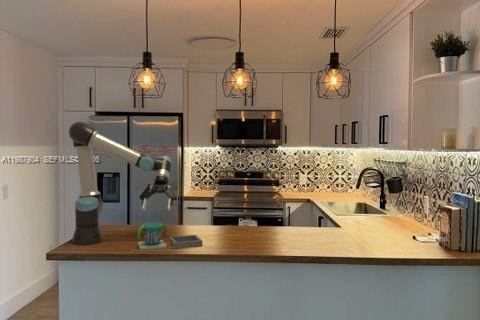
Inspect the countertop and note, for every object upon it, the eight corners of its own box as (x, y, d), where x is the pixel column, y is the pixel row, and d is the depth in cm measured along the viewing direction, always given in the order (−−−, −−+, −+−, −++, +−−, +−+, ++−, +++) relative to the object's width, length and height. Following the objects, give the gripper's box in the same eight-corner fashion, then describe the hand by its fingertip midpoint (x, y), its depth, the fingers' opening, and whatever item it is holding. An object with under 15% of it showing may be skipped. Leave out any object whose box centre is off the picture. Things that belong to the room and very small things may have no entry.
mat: (140, 249, 203) (140, 247, 203) (137, 243, 215) (137, 242, 215) (166, 247, 207) (166, 245, 207) (162, 241, 220) (162, 240, 220)
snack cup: (162, 240, 220) (162, 221, 219) (170, 243, 211) (170, 224, 211) (134, 243, 211) (133, 224, 211) (141, 248, 202) (141, 227, 202)
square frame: (174, 248, 205) (174, 242, 205) (169, 242, 218) (169, 236, 218) (202, 246, 210) (202, 240, 210) (195, 240, 223) (195, 234, 223)
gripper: (184, 183, 236) (180, 213, 222) (141, 183, 237) (134, 213, 222) (182, 174, 231) (178, 205, 216) (138, 174, 231) (131, 205, 217)
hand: (155, 209), depth 219 cm, fingers open, 13 cm apart
